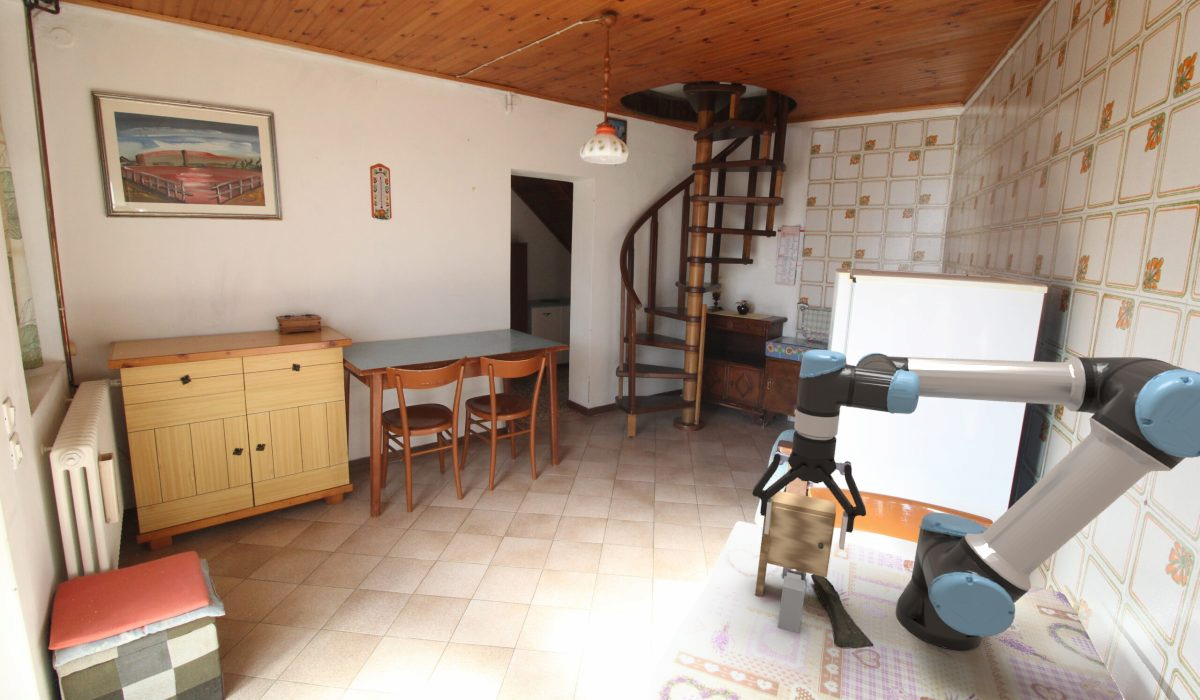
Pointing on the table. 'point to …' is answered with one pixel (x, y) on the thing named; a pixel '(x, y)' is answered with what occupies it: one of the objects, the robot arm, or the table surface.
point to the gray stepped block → (791, 602)
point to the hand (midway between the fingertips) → (803, 538)
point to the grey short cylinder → (803, 574)
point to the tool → (839, 617)
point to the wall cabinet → (797, 535)
